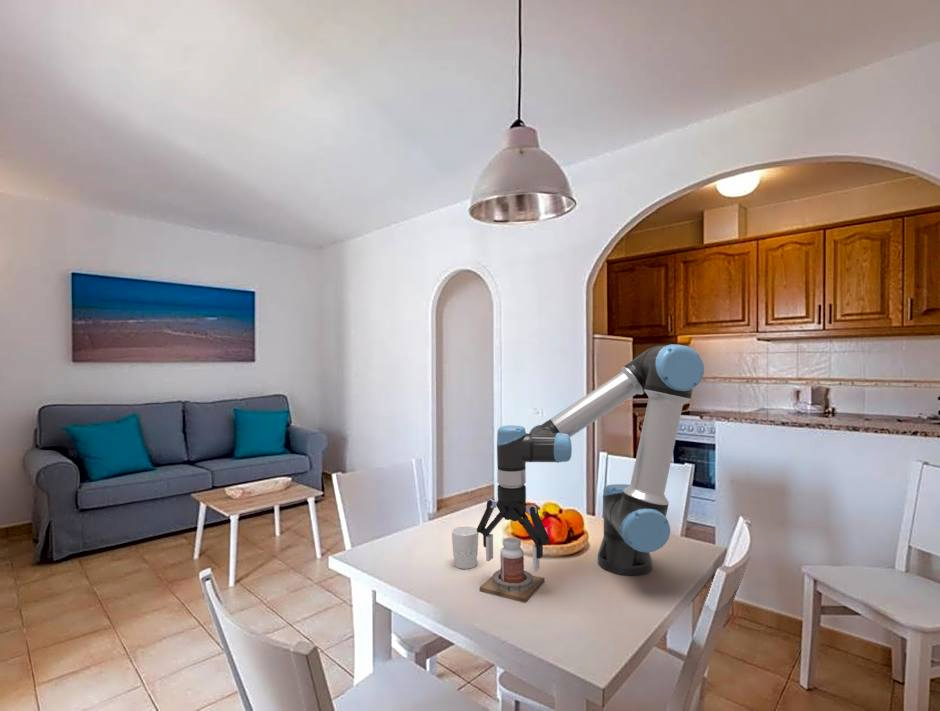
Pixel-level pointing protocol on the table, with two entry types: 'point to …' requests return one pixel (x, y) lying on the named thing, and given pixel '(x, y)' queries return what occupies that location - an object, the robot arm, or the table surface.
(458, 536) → the white cup
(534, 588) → the socket base
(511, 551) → the pill bottle
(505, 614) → the table surface
